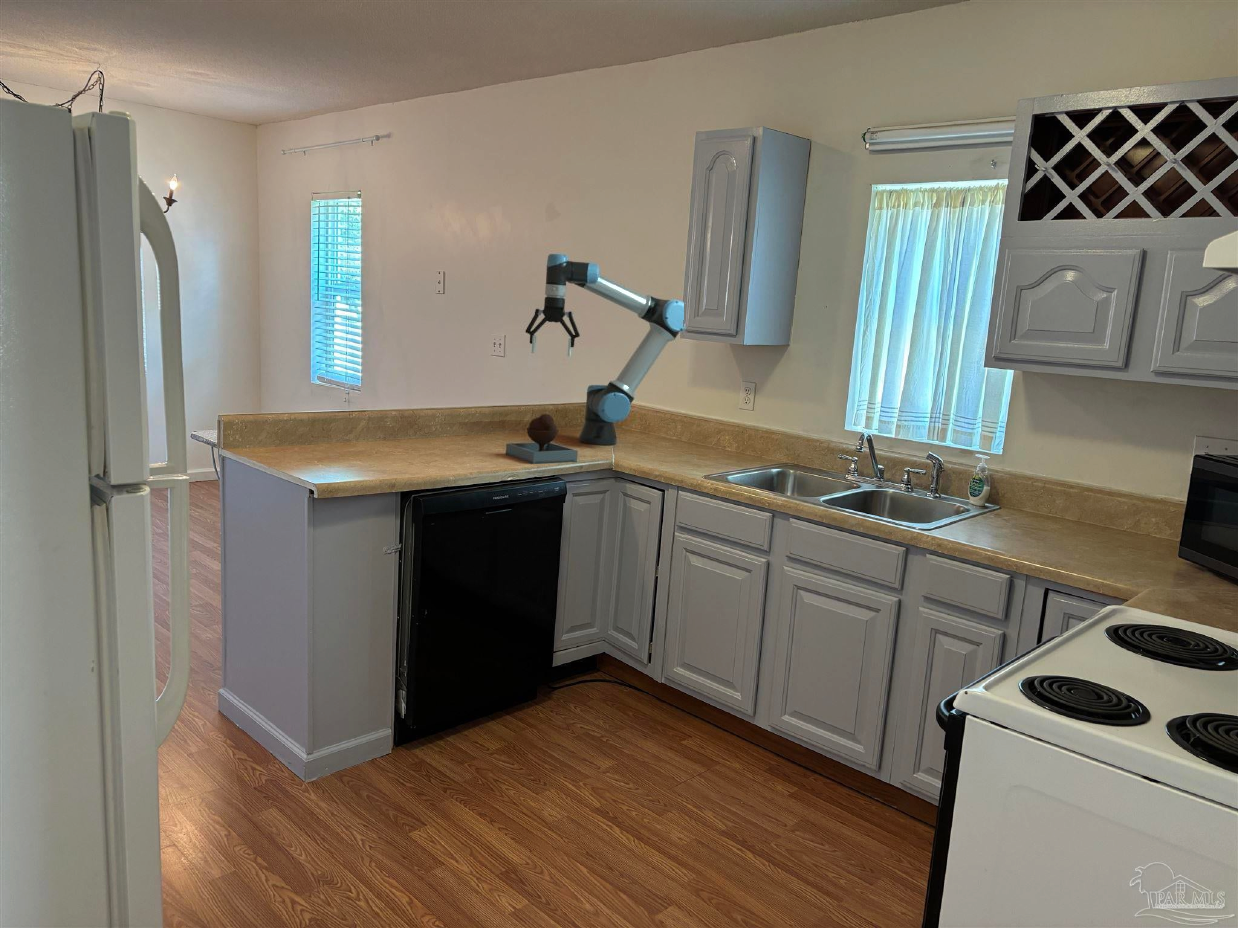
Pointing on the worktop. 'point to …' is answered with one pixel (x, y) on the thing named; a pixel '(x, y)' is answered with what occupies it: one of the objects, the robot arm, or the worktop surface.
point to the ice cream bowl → (542, 430)
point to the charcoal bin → (541, 453)
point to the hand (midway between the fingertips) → (551, 354)
